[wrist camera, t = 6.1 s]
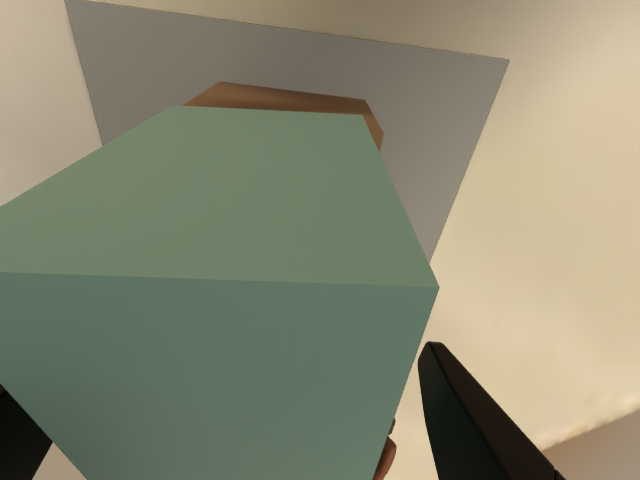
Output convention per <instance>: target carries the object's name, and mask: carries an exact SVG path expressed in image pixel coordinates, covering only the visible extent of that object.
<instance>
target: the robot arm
mask: <svg viewBox="0 0 640 480" xmlns="http://www.w3.org/2000/svg"><path fill="white" fill-rule="evenodd" d="M418 373H419V380H420V388H421V395H422V403H423V410H424V417H425V423H426V428H427V432H428V436H429V441H430V445H431V449H432V453H433V457H434V461H435V466H436V470H437V474H438V478H439V480H566V479H565V478H564V477H563V476H562V475H561V474H560V473H559V472H558V470H554V466H553V465H552V464H551V463H550V462H549V460H548V459H547V458H546V457H545V456H544V455H543V454H542V453H541V452H540V450H539V449H538V448H537V447H536V446H535V445H534V444H533V443H532V442H531V441H530V439H529V438H528V437H527V436H526V435H525V434H524V433H523V432H522V431H521V429H520V428H519V427H518V426H517V425H516V424H515V423H514V422H513V421H512V419H511V418H510V417H509V416H508V415H507V414H506V413H505V412H504V411H503V409H502V408H501V407H500V406H499V405H498V404H497V403H496V402H495V401H494V399H493V398H492V397H491V396H490V395H489V394H488V393H487V392H486V391H485V389H484V388H483V387H482V386H481V385H480V384H479V383H478V382H477V381H476V379H475V378H474V377H473V376H472V375H471V374H470V373H469V372H468V371H467V369H466V368H465V367H464V366H463V365H462V364H461V363H460V362H459V361H458V359H457V358H456V357H455V356H454V355H453V354H452V353H451V352H450V351H449V350H448V348H447V347H446V346H445V345H444V344H442V343H441V342H431V341H429V342H427V343H426V344H425V346H424V348H423V350H422V352H421V354H420V356H419V359H418ZM52 443H53V441H52V440H51V439H50V438H49V437H48V436H47V434H46V433H45V432H44V431H43V430H42V429H41V428H40V427H39V426H38V425H37V423H36V422H35V421H34V420H33V419H32V418H31V417H30V416H29V415H28V413H27V412H26V411H25V410H24V409H23V408H22V407H21V406H20V405H19V403H18V402H17V401H16V400H15V399H14V398H13V397H12V396H11V395H10V393H9V392H8V391H7V390H6V389H5V388H4V387H3V386H2V385H1V384H0V480H32V479H33V477H34V475H35V473H36V471H37V470H38V468H39V466H40V464H41V462H42V461H43V459H44V457H45V455H46V454H47V452H48V450H49V448H50V446H51V444H52Z"/></svg>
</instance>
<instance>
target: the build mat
mask: <svg viewBox="0 0 640 480" xmlns="http://www.w3.org/2000/svg"><path fill="white" fill-rule="evenodd" d="M64 1H65V5H66V8H67V12H68V16H69V20H70V23H71V27H72V31H73V35H74V38H75V42H76V46H77V50H78V53H79V57H80V61H81V64H82V68H83V72H84V76H85V79H86V83H87V87H88V91H89V94H90V98H91V102H92V106H93V109H94V113H95V117H96V121H97V124H98V128H99V132H100V136H101V139H102V143H103V146H104V145H106V144H108V143H109V142H111V141H113V140H114V139H116V138H118V137H119V136H121V135H123V134H124V133H126V132H128V131H130V130H131V129H133V128H135V127H136V126H138V125H140V124H141V123H143V122H145V121H146V120H148V119H150V118H152V117H153V116H155V115H157V114H158V113H160V112H162V111H163V110H165V109H167V108H168V107H170V106H172V105H177V106H182V105H184V104H185V103H187V102H188V101H190V100H191V99H193V98H195V97H196V96H198V95H199V94H201V93H202V92H204V91H206V90H207V89H209V88H210V87H212V86H213V85H215V84H217V83H218V82H220V81H221V82H229V83H237V84H245V85H253V86H261V87H269V88H276V89H284V90H292V91H300V92H308V93H316V94H324V95H332V96H340V97H348V98H355V99H363V100H365V101H366V102H367V104H368V106H369V108H370V109H371V111H372V113H373V115H374V117H375V118H376V120H377V122H378V124H379V125H380V127H381V129H382V131H383V132H384V136H383V140H382V144H381V149H380V155H381V157H382V160H383V162H384V164H385V166H386V169H387V171H388V173H389V175H390V178H391V180H392V182H393V184H394V186H395V189H396V191H397V193H398V195H399V198H400V200H401V202H402V204H403V207H404V209H405V211H406V213H407V216H408V218H409V220H410V222H411V224H412V227H413V229H414V231H415V233H416V236H417V238H418V240H419V242H420V245H421V247H422V249H423V251H424V253H425V256H426V258H427V260H428V262H429V263H430V261H431V258H432V256H433V253H434V251H435V248H436V245H437V243H438V240H439V238H440V235H441V233H442V230H443V228H444V225H445V223H446V220H447V218H448V215H449V213H450V210H451V208H452V205H453V203H454V200H455V198H456V195H457V193H458V190H459V187H460V185H461V182H462V180H463V177H464V175H465V172H466V170H467V167H468V165H469V162H470V160H471V157H472V155H473V152H474V150H475V147H476V145H477V142H478V140H479V137H480V135H481V132H482V129H483V127H484V124H485V122H486V119H487V117H488V114H489V112H490V109H491V107H492V104H493V102H494V99H495V97H496V94H497V92H498V89H499V87H500V84H501V82H502V79H503V77H504V74H505V71H506V69H507V66H508V64H509V61H510V60H507V59H502V58H494V57H487V56H480V55H473V54H466V53H459V52H451V51H444V50H437V49H430V48H423V47H416V46H408V45H401V44H394V43H387V42H380V41H372V40H365V39H358V38H351V37H344V36H337V35H329V34H322V33H315V32H308V31H301V30H294V29H286V28H279V27H272V26H265V25H258V24H251V23H243V22H236V21H229V20H222V19H215V18H208V17H200V16H193V15H186V14H179V13H172V12H165V11H157V10H150V9H143V8H136V7H129V6H122V5H114V4H107V3H100V2H93V1H86V0H64Z"/></svg>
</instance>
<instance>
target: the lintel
mask: <svg viewBox="0 0 640 480" xmlns="http://www.w3.org/2000/svg"><path fill="white" fill-rule="evenodd" d="M438 290H439V285H438V283H437V280H436V278H435V276H434V274H433V271H432V269H431V267H430V265H429V262H428V260H427V258H426V256H425V253H424V251H423V249H422V247H421V245H420V242H419V240H418V238H417V236H416V233H415V231H414V229H413V227H412V224H411V222H410V220H409V218H408V216H407V213H406V211H405V209H404V207H403V204H402V202H401V200H400V198H399V195H398V193H397V191H396V189H395V186H394V184H393V182H392V180H391V178H390V175H389V173H388V171H387V169H386V166H385V164H384V162H383V160H382V157H381V155H380V153H379V151H378V149H377V146H376V144H375V142H374V140H373V137H372V135H371V133H370V131H369V128H368V126H367V124H366V122H365V120H364V117H363V115H356V114H336V113H316V112H296V111H276V110H257V109H237V108H217V107H197V106H177V105H172V106H170V107H168V108H167V109H165V110H163V111H162V112H160V113H158V114H157V115H155V116H153V117H152V118H150V119H148V120H146V121H145V122H143V123H141V124H140V125H138V126H136V127H135V128H133V129H131V130H130V131H128V132H126V133H124V134H123V135H121V136H119V137H118V138H116V139H114V140H113V141H111V142H109V143H108V144H106V145H104V146H103V147H101V148H99V149H97V150H96V151H94V152H92V153H91V154H89V155H87V156H86V157H84V158H82V159H81V160H79V161H77V162H75V163H74V164H72V165H70V166H69V167H67V168H65V169H64V170H62V171H60V172H59V173H57V174H55V175H53V176H52V177H50V178H48V179H47V180H45V181H43V182H42V183H40V184H38V185H37V186H35V187H33V188H32V189H30V190H28V191H26V192H25V193H23V194H21V195H20V196H18V197H16V198H15V199H13V200H11V201H10V202H8V203H6V204H4V205H3V206H1V207H0V384H1V385H2V386H3V387H4V388H5V389H6V390H7V391H8V392H9V393H10V395H11V396H12V397H13V398H14V399H15V400H16V401H17V402H18V403H19V405H20V406H21V407H22V408H23V409H24V410H25V411H26V412H27V413H28V415H29V416H30V417H31V418H32V419H33V420H34V421H35V422H36V423H37V425H38V426H39V427H40V428H41V429H42V430H43V431H44V432H45V433H46V434H47V436H48V437H49V438H50V439H51V440H52V441H53V442H54V443H55V444H56V446H57V447H58V448H59V449H60V450H61V451H62V452H63V453H64V454H65V455H66V457H67V458H68V459H69V460H70V461H71V462H72V463H73V464H74V466H75V467H76V468H77V469H78V470H79V471H80V472H81V473H82V474H83V476H84V477H85V478H86V479H87V480H372V479H373V476H374V473H375V470H376V467H377V465H378V462H379V459H380V456H381V453H382V450H383V447H384V445H385V442H386V439H387V436H388V433H389V430H390V427H391V425H392V422H393V419H394V416H395V413H396V410H397V407H398V405H399V402H400V399H401V396H402V393H403V390H404V387H405V385H406V382H407V379H408V376H409V373H410V370H411V367H412V365H413V362H414V359H415V356H416V353H417V350H418V347H419V345H420V342H421V339H422V336H423V333H424V330H425V327H426V325H427V322H428V319H429V316H430V313H431V310H432V307H433V305H434V302H435V299H436V296H437V293H438Z"/></svg>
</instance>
